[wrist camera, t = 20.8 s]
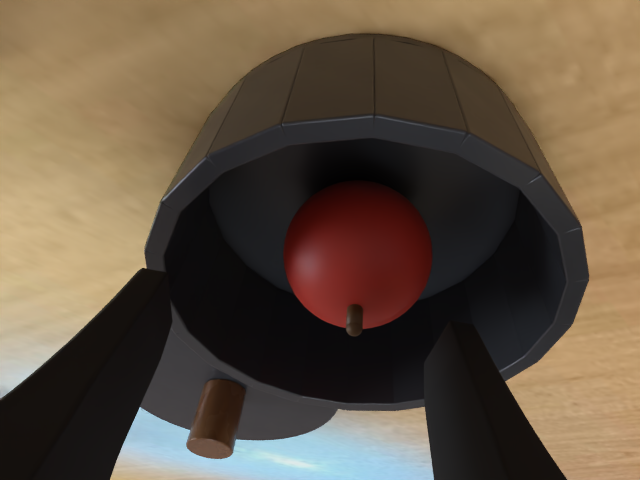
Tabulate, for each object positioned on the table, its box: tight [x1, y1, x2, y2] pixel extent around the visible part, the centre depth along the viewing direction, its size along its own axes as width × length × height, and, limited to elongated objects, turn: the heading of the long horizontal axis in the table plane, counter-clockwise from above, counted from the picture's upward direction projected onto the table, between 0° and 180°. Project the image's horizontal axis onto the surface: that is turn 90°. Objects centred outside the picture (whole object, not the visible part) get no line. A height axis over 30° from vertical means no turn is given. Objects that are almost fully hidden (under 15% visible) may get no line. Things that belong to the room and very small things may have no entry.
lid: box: [140, 329, 337, 459], centre depth 26 cm, size 14×14×5 cm
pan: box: [144, 34, 589, 411], centre depth 16 cm, size 13×13×6 cm
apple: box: [283, 180, 432, 336], centre depth 15 cm, size 5×5×6 cm
